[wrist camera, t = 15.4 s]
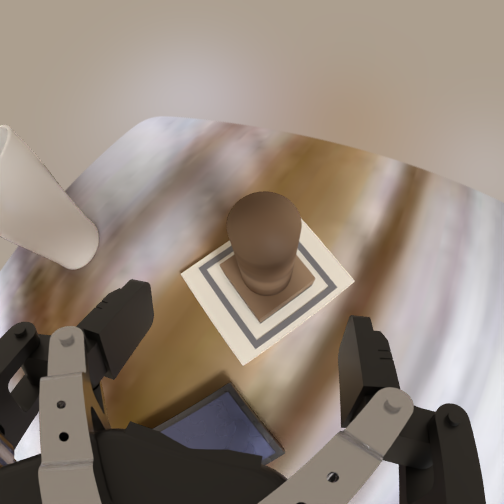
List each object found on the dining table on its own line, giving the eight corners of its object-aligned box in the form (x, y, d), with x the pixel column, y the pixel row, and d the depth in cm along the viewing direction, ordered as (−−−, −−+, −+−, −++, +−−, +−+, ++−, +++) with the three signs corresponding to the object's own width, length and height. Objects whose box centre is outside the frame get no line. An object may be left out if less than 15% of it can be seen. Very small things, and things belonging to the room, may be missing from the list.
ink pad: (231, 381, 21) (229, 382, 20) (284, 449, 19) (285, 453, 18) (143, 434, 20) (138, 436, 19) (193, 498, 18) (189, 503, 17)
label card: (286, 203, 26) (286, 201, 26) (353, 282, 23) (354, 281, 23) (181, 274, 25) (180, 273, 24) (243, 365, 22) (243, 365, 21)
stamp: (273, 238, 25) (273, 165, 15) (311, 285, 23) (337, 233, 14) (223, 273, 24) (193, 215, 15) (260, 323, 22) (251, 295, 13)
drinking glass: (66, 291, 25) (-52, 228, 11) (50, 240, 27) (-45, 166, 13) (117, 252, 26) (11, 157, 12) (95, 204, 28) (11, 108, 14)
